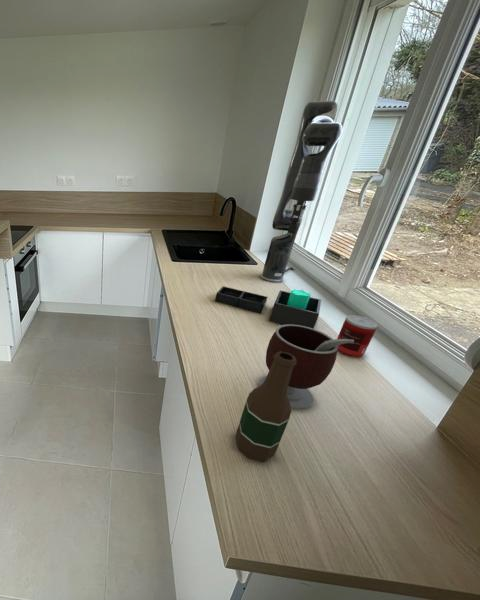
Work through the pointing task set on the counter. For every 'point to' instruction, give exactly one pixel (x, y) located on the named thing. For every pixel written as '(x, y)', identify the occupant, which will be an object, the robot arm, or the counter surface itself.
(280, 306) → the black open box
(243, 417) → the beer bottle
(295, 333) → the mate gourd
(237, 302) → the black divided tray
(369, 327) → the canned food
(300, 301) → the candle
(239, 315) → the counter surface
